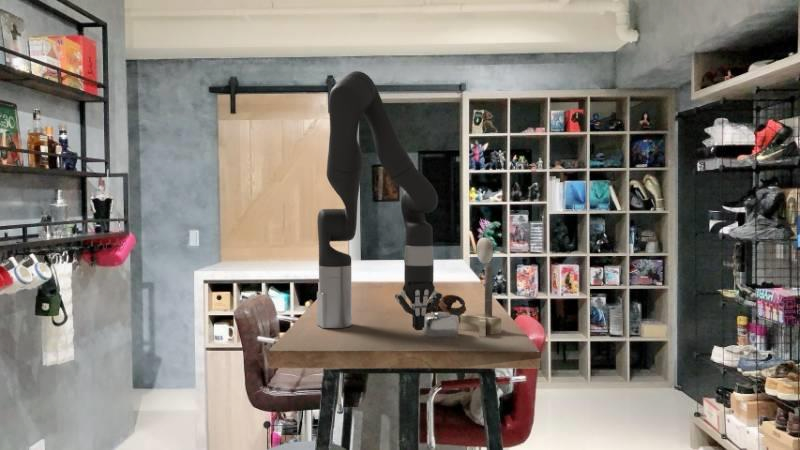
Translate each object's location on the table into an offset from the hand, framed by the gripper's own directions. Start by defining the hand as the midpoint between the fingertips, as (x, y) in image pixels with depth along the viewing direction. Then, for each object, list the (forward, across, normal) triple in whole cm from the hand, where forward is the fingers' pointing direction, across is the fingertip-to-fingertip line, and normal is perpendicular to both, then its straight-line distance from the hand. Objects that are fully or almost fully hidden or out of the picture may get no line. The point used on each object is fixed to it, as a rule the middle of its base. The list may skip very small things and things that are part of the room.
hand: (418, 329), depth 166 cm
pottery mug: (+2, +19, +22) cm, 29 cm away
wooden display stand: (+2, +19, 0) cm, 19 cm away
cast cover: (+2, +7, 0) cm, 7 cm away
